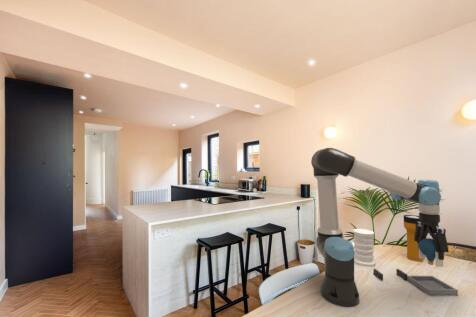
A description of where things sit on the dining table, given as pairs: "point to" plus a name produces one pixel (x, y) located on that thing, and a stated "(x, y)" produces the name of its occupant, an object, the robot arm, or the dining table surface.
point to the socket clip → (398, 272)
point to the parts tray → (432, 286)
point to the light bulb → (428, 249)
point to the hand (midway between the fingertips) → (430, 262)
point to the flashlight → (411, 237)
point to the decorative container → (363, 247)
